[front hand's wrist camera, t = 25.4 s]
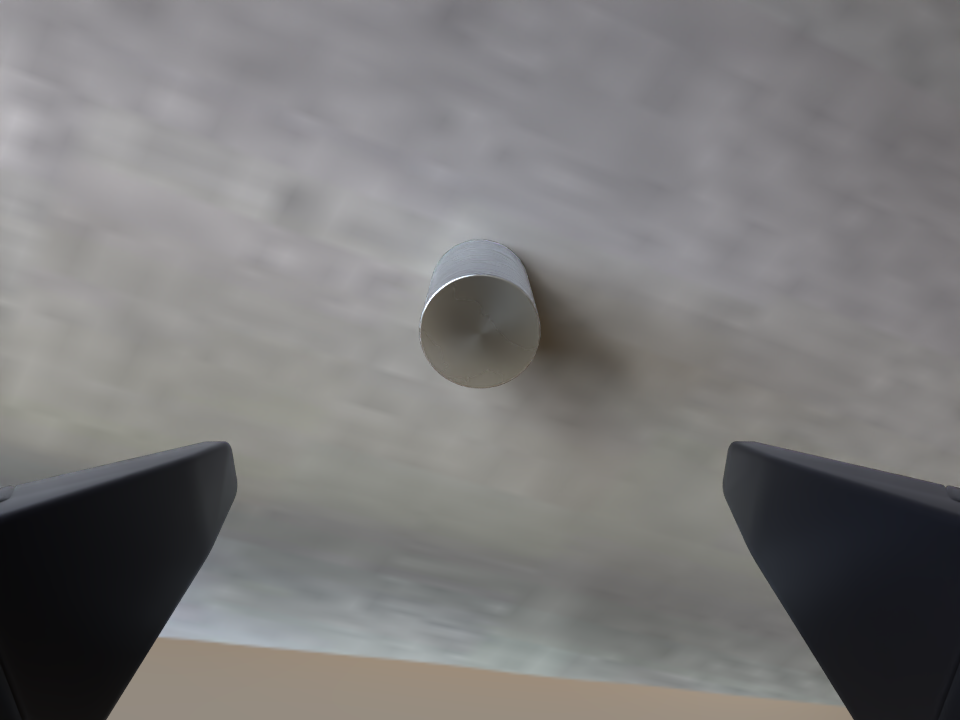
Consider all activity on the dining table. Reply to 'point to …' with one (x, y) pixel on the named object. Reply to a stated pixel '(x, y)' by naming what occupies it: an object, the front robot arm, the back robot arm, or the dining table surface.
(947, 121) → the dining table surface
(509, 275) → the can
